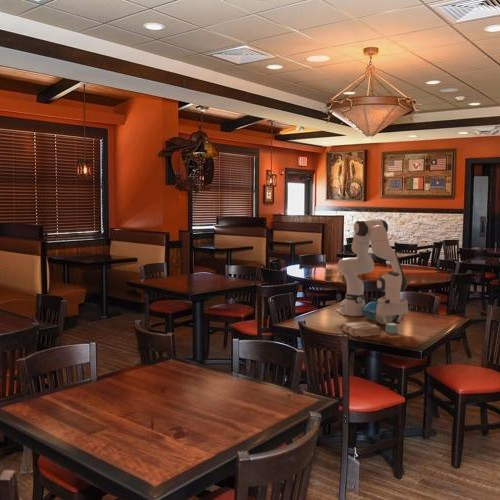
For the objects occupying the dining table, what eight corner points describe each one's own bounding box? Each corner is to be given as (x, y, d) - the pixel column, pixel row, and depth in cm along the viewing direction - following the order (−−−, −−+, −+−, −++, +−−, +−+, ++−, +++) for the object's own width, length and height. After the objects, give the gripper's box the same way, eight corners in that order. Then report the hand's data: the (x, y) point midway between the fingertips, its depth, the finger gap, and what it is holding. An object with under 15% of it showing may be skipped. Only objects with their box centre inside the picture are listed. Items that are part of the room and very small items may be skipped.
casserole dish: (395, 324, 350) (396, 313, 349) (360, 321, 358) (360, 310, 357) (402, 313, 384) (402, 302, 383) (369, 310, 392) (370, 300, 391)
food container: (396, 327, 342) (396, 311, 341) (393, 329, 337) (393, 312, 336) (376, 324, 348) (377, 308, 347) (373, 326, 343) (374, 310, 342)
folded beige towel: (341, 331, 333) (342, 322, 332) (365, 329, 338) (365, 321, 337) (355, 337, 318) (355, 329, 317) (379, 335, 323) (379, 327, 322)
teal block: (385, 331, 331) (385, 323, 330) (392, 331, 332) (392, 322, 332) (390, 333, 326) (390, 325, 325) (397, 333, 328) (397, 324, 327)
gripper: (404, 297, 333) (403, 320, 335) (375, 299, 326) (374, 322, 328) (410, 299, 327) (410, 322, 329) (381, 301, 321) (380, 324, 322)
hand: (392, 322), depth 328 cm, fingers open, 8 cm apart
